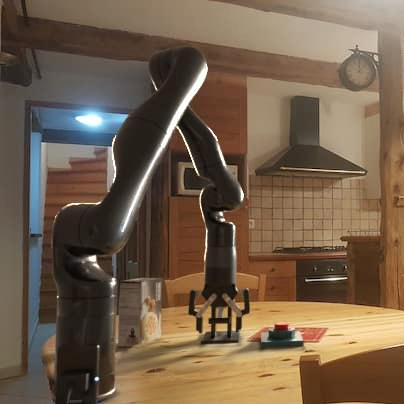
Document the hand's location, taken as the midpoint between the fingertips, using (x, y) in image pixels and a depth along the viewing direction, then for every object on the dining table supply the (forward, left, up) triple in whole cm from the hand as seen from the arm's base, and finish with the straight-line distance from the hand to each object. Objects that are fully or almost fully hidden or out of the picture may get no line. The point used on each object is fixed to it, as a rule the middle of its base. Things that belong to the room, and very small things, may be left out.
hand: (219, 332), depth 125 cm
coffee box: (+10, +20, -4) cm, 23 cm away
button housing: (+2, -15, -4) cm, 16 cm away
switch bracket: (+9, 0, -4) cm, 10 cm away
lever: (+5, 0, +3) cm, 6 cm away
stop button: (+2, -15, 0) cm, 15 cm away
